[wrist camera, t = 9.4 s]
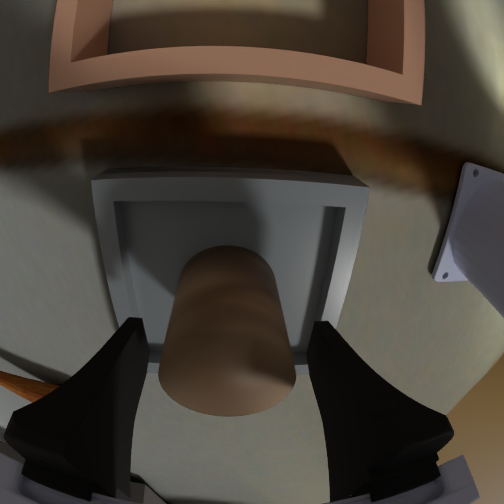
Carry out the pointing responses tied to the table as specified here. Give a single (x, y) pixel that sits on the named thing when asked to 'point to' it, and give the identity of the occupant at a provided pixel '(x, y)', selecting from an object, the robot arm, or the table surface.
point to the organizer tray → (137, 490)
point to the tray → (228, 238)
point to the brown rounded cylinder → (227, 336)
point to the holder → (242, 57)
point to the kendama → (26, 386)
